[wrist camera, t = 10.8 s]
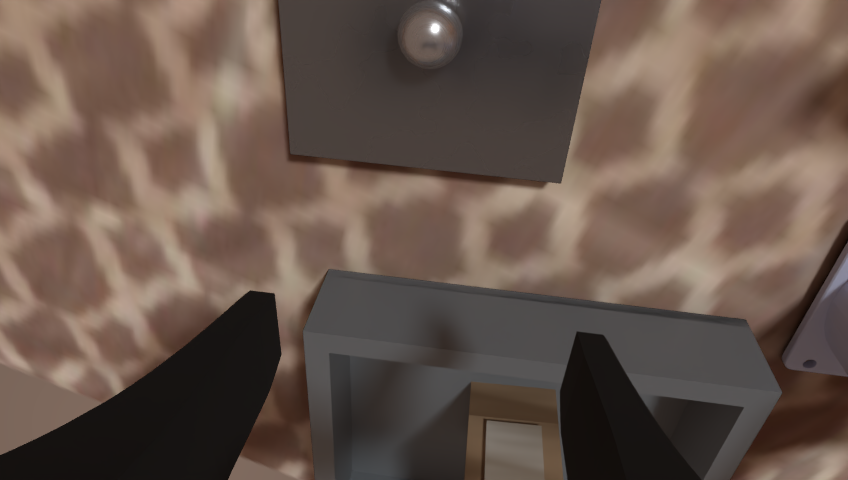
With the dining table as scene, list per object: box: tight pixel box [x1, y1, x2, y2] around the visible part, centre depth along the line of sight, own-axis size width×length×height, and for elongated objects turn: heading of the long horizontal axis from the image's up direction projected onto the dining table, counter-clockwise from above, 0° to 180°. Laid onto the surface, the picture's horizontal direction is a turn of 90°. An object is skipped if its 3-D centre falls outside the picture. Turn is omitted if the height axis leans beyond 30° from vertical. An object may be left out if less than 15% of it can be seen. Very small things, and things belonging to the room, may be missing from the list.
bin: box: [303, 269, 782, 480], centre depth 28 cm, size 18×15×4 cm
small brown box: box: [464, 382, 563, 480], centre depth 26 cm, size 4×4×7 cm
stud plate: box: [278, 0, 601, 183], centre depth 18 cm, size 10×10×3 cm
